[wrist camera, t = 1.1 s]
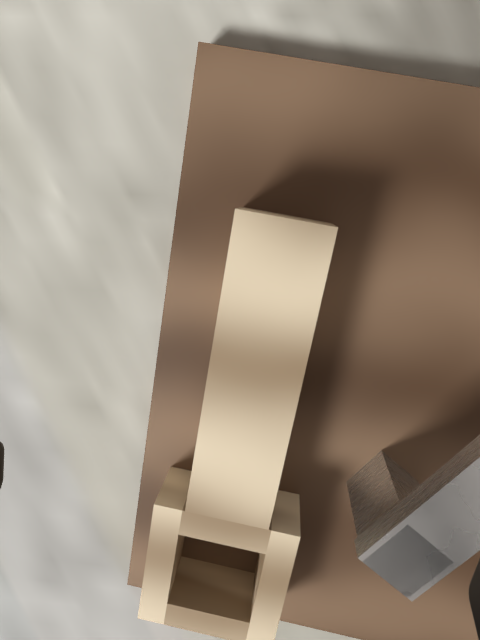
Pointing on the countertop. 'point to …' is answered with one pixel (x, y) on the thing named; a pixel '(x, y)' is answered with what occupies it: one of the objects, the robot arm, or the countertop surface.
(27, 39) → the countertop surface
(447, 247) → the base board
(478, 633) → the robot arm
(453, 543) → the keeper
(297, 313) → the link
